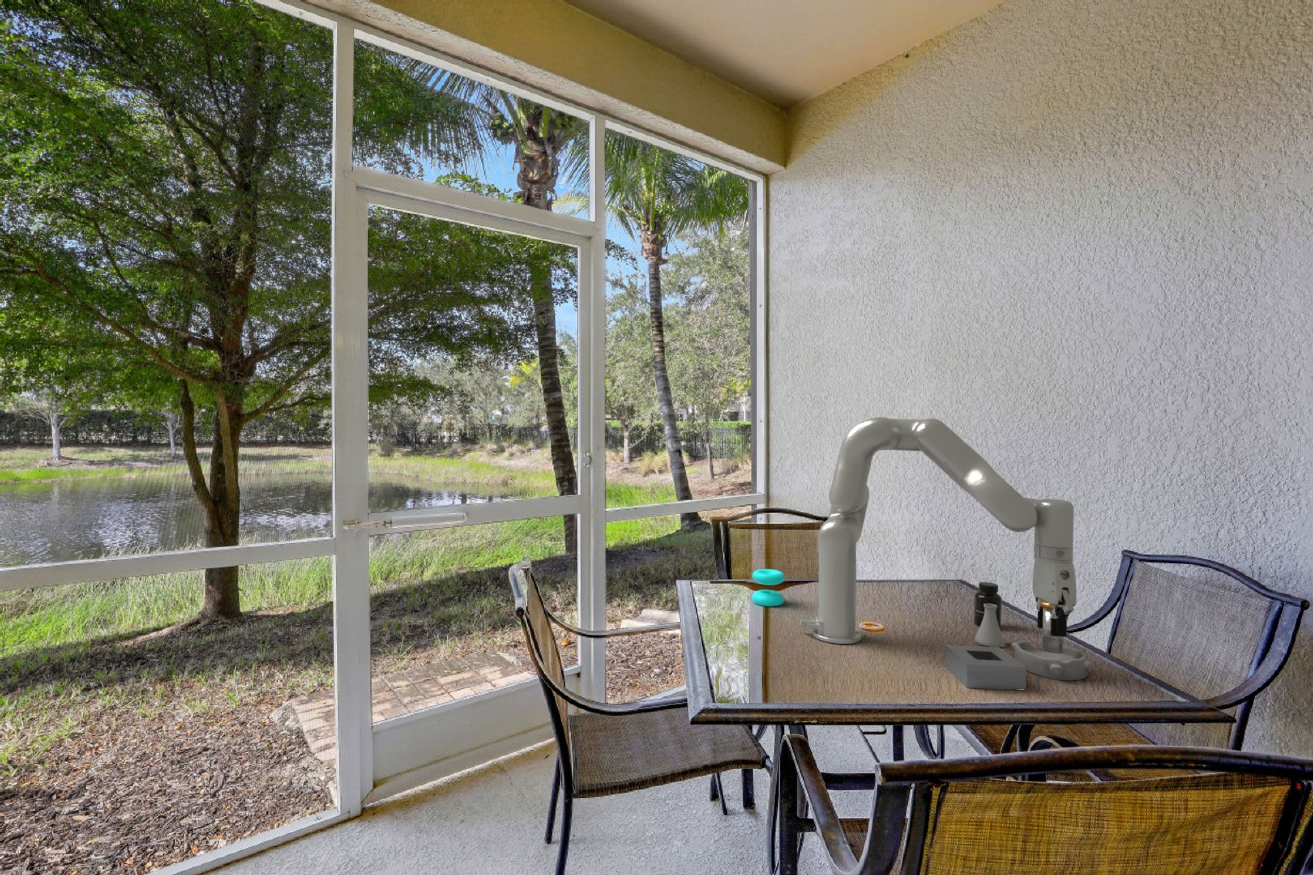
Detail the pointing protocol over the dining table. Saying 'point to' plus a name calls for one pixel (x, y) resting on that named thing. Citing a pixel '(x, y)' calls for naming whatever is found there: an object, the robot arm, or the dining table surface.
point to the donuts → (768, 595)
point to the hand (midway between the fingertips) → (1051, 631)
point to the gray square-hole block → (985, 667)
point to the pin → (1049, 641)
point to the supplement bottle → (986, 602)
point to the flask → (990, 629)
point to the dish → (1053, 662)
